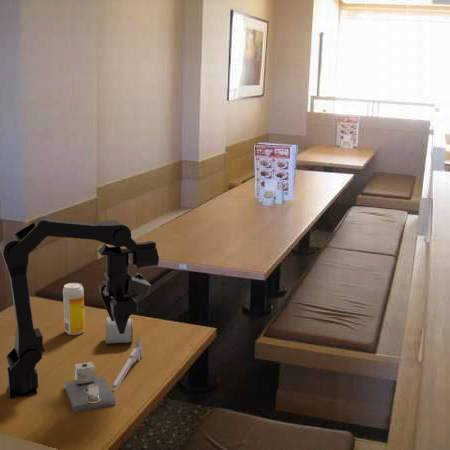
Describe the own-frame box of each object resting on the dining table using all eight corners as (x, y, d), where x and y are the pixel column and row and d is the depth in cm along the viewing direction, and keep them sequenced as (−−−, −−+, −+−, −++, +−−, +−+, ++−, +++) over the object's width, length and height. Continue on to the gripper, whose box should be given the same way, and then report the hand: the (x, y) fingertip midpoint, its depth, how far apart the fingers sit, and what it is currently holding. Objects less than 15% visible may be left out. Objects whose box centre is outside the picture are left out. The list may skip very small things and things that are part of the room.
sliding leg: (77, 384, 161) (76, 368, 160) (75, 378, 163) (74, 363, 162) (94, 381, 162) (94, 365, 161) (92, 376, 165) (91, 360, 164)
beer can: (89, 330, 198) (87, 284, 195) (74, 337, 193) (72, 290, 190) (75, 326, 201) (73, 281, 198) (60, 332, 196) (58, 286, 193)
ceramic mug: (134, 346, 188) (133, 321, 186) (105, 347, 186) (104, 322, 185) (133, 332, 198) (132, 309, 196) (106, 334, 197) (105, 310, 195)
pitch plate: (73, 412, 151) (72, 393, 150) (64, 387, 163) (63, 369, 161) (115, 404, 155) (115, 385, 154) (103, 380, 166) (102, 363, 165)
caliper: (138, 357, 181) (138, 337, 179) (142, 358, 181) (142, 337, 179) (110, 392, 161) (110, 369, 160) (114, 392, 161) (114, 369, 160)
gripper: (158, 278, 159) (157, 336, 162) (138, 258, 176) (138, 311, 179) (114, 281, 155) (114, 342, 158) (97, 261, 171) (98, 316, 175)
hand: (117, 327), depth 168 cm, fingers open, 9 cm apart
